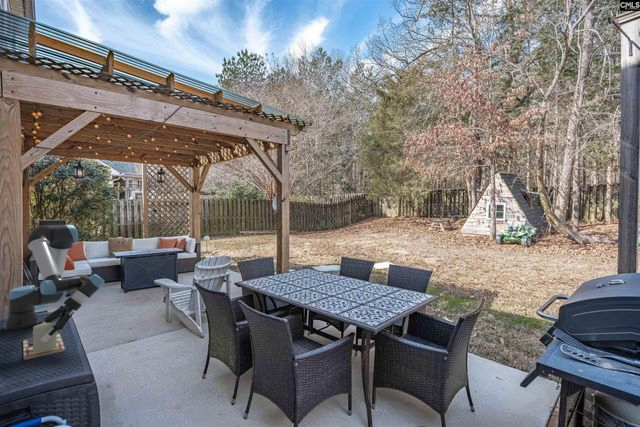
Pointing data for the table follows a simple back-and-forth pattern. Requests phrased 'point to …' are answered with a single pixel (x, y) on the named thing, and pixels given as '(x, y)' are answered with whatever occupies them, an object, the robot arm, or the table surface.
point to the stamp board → (30, 354)
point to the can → (39, 333)
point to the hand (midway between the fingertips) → (38, 337)
